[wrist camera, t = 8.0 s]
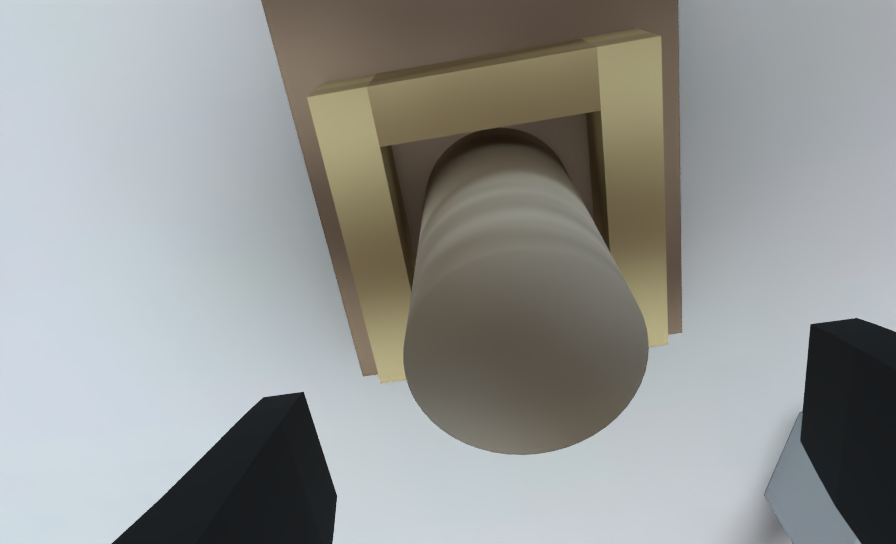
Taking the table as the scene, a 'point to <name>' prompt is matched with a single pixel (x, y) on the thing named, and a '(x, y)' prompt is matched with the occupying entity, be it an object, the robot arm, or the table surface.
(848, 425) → the robot arm
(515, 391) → the beige cylinder
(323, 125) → the dock
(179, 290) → the table surface
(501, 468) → the table surface
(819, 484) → the lighter
